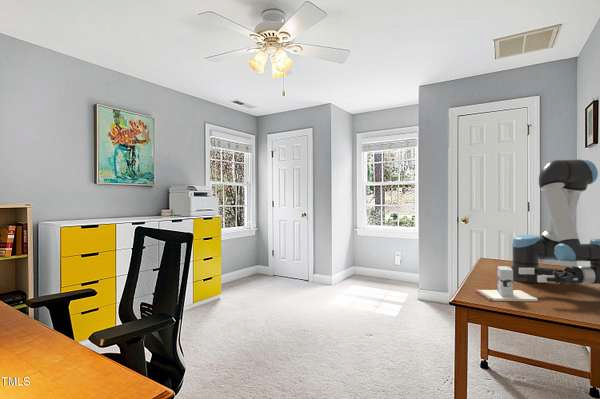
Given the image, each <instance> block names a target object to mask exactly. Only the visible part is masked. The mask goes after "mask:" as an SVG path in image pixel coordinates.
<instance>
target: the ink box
mask: <svg viewBox="0 0 600 399" xmlns="http://www.w3.org/2000/svg"><path fill="white" fill-rule="evenodd" d="M496 287H497V289H496V290H497V291H498V292H499V294H500V295H501V296H506V297H513V290H514V280H513V270H512V269H511V267H510V266H505V265H504V266H503V265H502V266H501V265H500V266H499V265H498V266H497V286H496Z"/></svg>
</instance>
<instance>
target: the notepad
mask: <svg viewBox="0 0 600 399" xmlns="http://www.w3.org/2000/svg"><path fill="white" fill-rule="evenodd" d="M475 293H476V294H478V295H480V297H483V298H484V299H486V300H487V301H489V302H501V301H502V302H538V301H539V300H538V298H537V297H535V296H532V295H531V294H529V293H526V292H525V291H523V290H520V289H513V297H506V296H501V295H500V294H499V292H498V291H497V289H475Z"/></svg>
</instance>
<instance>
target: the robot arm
mask: <svg viewBox="0 0 600 399" xmlns="http://www.w3.org/2000/svg"><path fill="white" fill-rule="evenodd" d="M598 173H599V172H598V169H597V167H596V164H595V163H593V161H591V160H588V159H579V158H578V159H555V160H552V161H550V162H547V163H546V164H545V165H544V166H543V167H542V169H541V170H540V172H539V175H538V186H539V188H540V191H541V192H543V194H544V197H545V201H546V204H547V208H548V211H549V214H550V219H549V223H548V224H547V225H548V226H547V229H546V230H545V231H543V232H542V233H541V237H539V235H538V234H537V235H536V234H522V235H521V234H520V235H516V236H514V237H513V239H512V243H511V244H512V245H511V246H512V264H511V267H510V268H511V269H512V270H513V281H515V282H520V283H527V284H528V283H529V284H538V283H539V284H541V283H557V284H560V285H566V284H570V285H571V284H573V285H576V284H577V285H578V284H579V285H580V284H581V285H582V284H583V285H584V286H586V285H587V284H588V285H589V284H591V285H593V284H594V285H600V238H592V239H590V241H589V243H581V241H580V237H579V235H578V233H577V232H578V231H577V229H576V226H575V225H576V224H575V222H574V219H573V218H574V215H575V212H576V210H577V206H578V202H579V200H580V197H581V193H583V192H585V191H587V188H588V186H589V185H592V184H594V183H595V182H596V181H597V179H598ZM543 260H544V261H552V260H553V261H561V262H589V264H590V266H584V265H582V266H581V265H578V266H574V265H573V266H566V267H565V268H564V269H561V268H560V269H559V268H549V267H540V261H543Z"/></svg>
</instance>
